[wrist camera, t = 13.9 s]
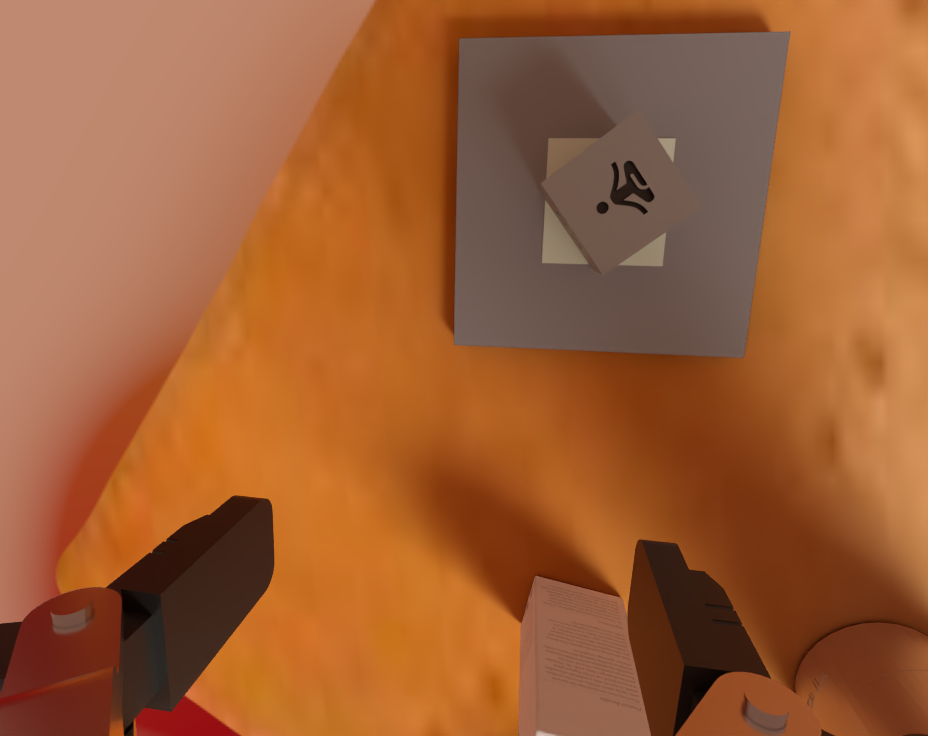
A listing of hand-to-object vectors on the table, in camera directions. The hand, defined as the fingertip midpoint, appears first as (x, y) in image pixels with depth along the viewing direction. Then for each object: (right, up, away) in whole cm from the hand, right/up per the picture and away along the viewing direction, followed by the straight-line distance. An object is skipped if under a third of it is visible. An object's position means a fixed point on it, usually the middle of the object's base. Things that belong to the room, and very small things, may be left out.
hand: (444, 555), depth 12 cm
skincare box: (+8, -12, +25) cm, 29 cm away
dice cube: (+8, +13, +17) cm, 23 cm away
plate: (+8, +13, +19) cm, 24 cm away
